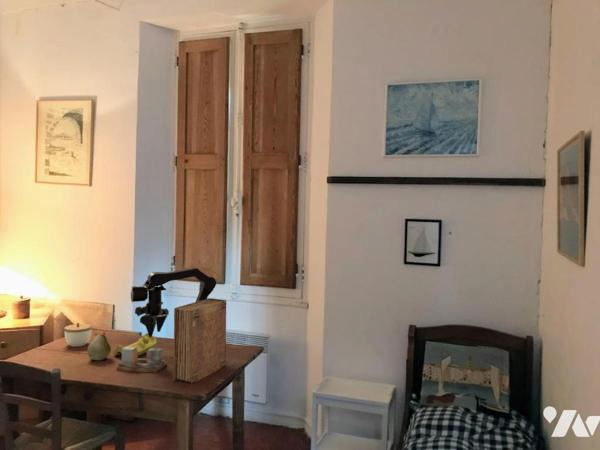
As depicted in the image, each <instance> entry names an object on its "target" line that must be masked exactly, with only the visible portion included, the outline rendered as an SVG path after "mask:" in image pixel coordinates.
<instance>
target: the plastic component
mask: <svg viewBox="0 0 600 450" xmlns="http://www.w3.org/2000/svg"><path fill="white" fill-rule="evenodd" d="M157 342H158V341H157V338H156V337H155V336H153V335H152V337H149V335H148V332H146V333H145V334H144V335H143V336H141V337H140V338H139V339H138V341H136V342H134V343H132V344H129V345H127V346H126V347H137V349H138V357H140V356H142V355H143V354H147V352H148V350H149V349H151V348H154V346H155V345H156V344H157ZM123 348H124V347H123V346H122V344H121V345H120V344H119V345H117V347H116V348H115V351H114V352H113V354H114V356H116V357H117V356H120V355H122V349H123Z"/></svg>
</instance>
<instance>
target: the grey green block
mask: <svg viewBox="0 0 600 450" xmlns="http://www.w3.org/2000/svg"><path fill="white" fill-rule="evenodd" d="M138 357H139V356H138V349H137V347H127V346H125V347H123V349H122V354H121V363H134V364H135V363H137V361H138V359H139V358H138Z"/></svg>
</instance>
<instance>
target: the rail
mask: <svg viewBox="0 0 600 450" xmlns="http://www.w3.org/2000/svg"><path fill="white" fill-rule="evenodd" d="M117 365H118V366H117V367H116V370H117V371H123V372H124V371H127V372H141V373H142V372H143V373H154V374H155V373H158V372H159V371H161V370H162V369H163V368H164V367H165V366H167V361H166V360H164V359H163V348H155V347H152V348H150V349H149V350H148V351H147V352H146V358H138V361H137V363H135V364H134V363H122V362H118V363H117Z"/></svg>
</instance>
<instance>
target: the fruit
mask: <svg viewBox="0 0 600 450" xmlns="http://www.w3.org/2000/svg"><path fill="white" fill-rule="evenodd" d="M105 334H106V332H104V331H103V334H102V333H99V334H98V335H96V336H95V338H93V340H92V341H91V342H90V343H89V344H88V346H87V352H86V353H87V355H88V357H89V358H90V359H91V360H94V361H102V360H105V359H107V357H108V356H109V355H110V353H111V350H112V348H111V345H110V343H109V341H108V339H107V337H106V336H105Z"/></svg>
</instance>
